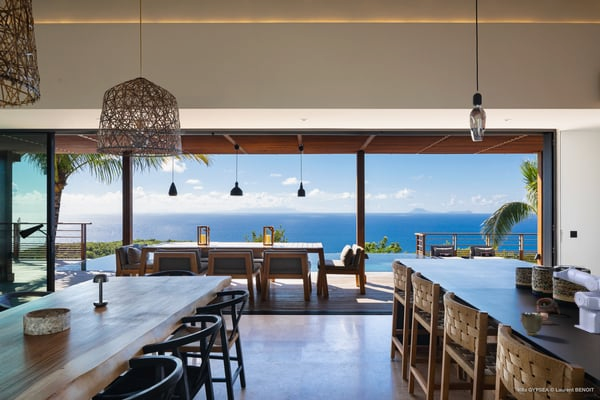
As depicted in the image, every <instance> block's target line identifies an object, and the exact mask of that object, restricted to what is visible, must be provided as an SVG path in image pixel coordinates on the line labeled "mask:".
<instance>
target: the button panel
mask: <svg viewBox="0 0 600 400" xmlns="http://www.w3.org/2000/svg"><path fill="white" fill-rule="evenodd" d="M519 321H520V322H521V323H522V318H521V317H520V318H519ZM552 324H553V322H552V321H551V320H549V319H548V318H543V321H542V325H552Z"/></svg>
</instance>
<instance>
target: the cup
mask: <svg viewBox="0 0 600 400" xmlns="http://www.w3.org/2000/svg"><path fill="white" fill-rule="evenodd" d="M526 313H527V314H526ZM528 313H529V312H523V313H521V314H520V316H521V317H520V318H522V322H521V323H522V327H523V329H524V330H525V331H526V335H528V336H530V337H537V336H538V333H539V332H540V331H541V330H542V326H543V324H542V321H543V316H542V315H539V316H538V314H537V315H535V314H532V313H533V312H530V314H528Z"/></svg>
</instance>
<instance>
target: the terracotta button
mask: <svg viewBox="0 0 600 400" xmlns="http://www.w3.org/2000/svg"><path fill="white" fill-rule="evenodd" d="M539 314H540V315H542V316H543V318H544V319H548V318H549V313H547V312H539Z"/></svg>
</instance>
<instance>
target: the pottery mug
mask: <svg viewBox="0 0 600 400" xmlns="http://www.w3.org/2000/svg"><path fill="white" fill-rule="evenodd" d="M547 312H552V313H553V312H554V313H557V314H558V315H561V311H560V309H559V305H558V304H557V302H555V301H554V300H553V299H552V298H550V297H544V298H540V299H538V300H537V301H536V313H539V314H540V313H547Z"/></svg>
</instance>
